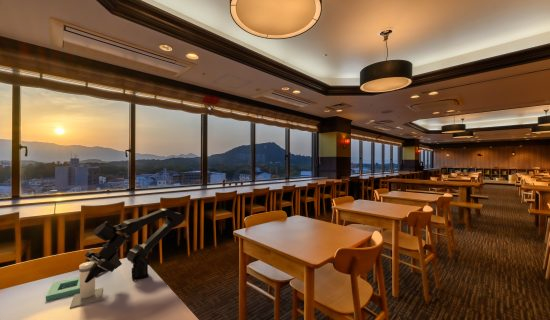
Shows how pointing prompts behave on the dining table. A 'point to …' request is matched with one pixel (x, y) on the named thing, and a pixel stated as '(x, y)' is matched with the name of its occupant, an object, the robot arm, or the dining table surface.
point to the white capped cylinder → (89, 287)
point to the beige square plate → (82, 301)
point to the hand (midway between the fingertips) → (83, 280)
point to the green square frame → (57, 293)
